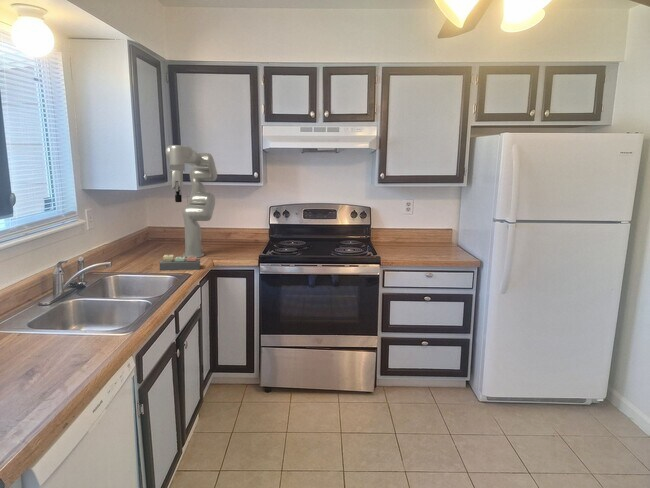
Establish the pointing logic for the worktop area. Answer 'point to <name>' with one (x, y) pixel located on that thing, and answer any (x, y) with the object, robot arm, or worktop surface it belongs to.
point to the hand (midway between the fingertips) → (178, 202)
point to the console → (179, 265)
